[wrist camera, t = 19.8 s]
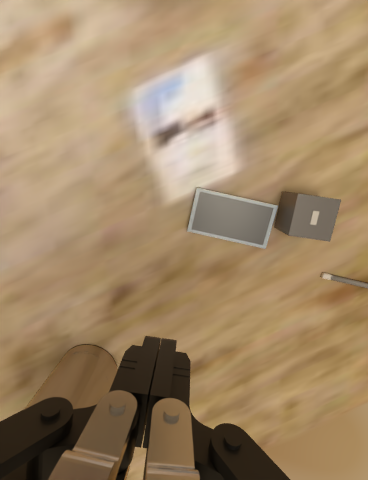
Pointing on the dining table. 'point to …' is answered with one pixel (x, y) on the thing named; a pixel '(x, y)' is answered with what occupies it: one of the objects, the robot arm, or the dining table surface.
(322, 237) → the charger
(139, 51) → the dining table surface
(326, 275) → the cable
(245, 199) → the phone
